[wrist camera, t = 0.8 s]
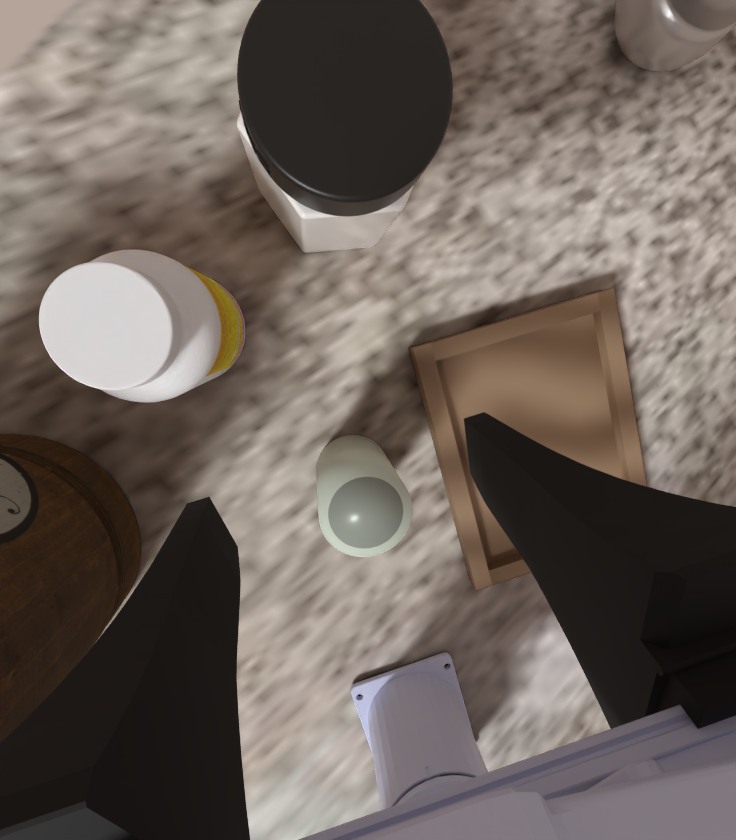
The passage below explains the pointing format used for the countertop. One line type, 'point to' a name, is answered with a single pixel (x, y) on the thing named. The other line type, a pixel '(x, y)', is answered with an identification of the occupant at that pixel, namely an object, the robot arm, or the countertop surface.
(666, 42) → the plastic bottle
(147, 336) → the supplement bottle
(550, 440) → the tray
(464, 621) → the countertop surface
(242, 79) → the jar
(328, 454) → the cup
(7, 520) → the wooden container
